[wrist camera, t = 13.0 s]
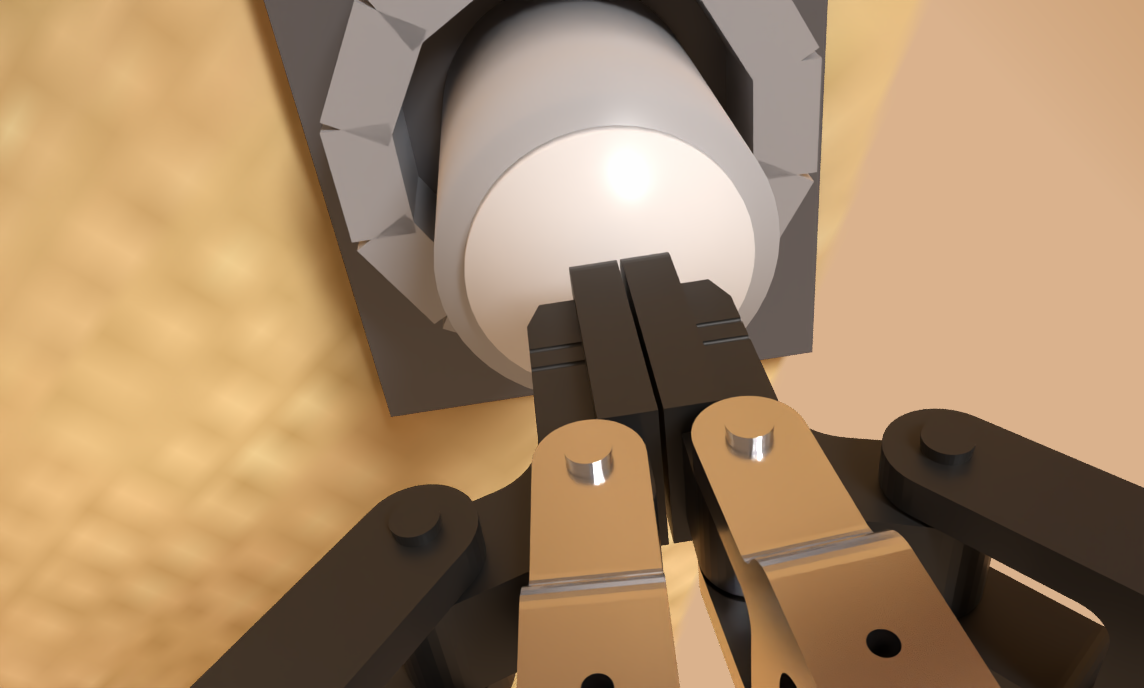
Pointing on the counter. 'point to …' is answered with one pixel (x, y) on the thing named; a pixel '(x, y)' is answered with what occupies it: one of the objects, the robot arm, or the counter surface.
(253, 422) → the counter surface
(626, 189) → the peg
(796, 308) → the plate with ring hole
